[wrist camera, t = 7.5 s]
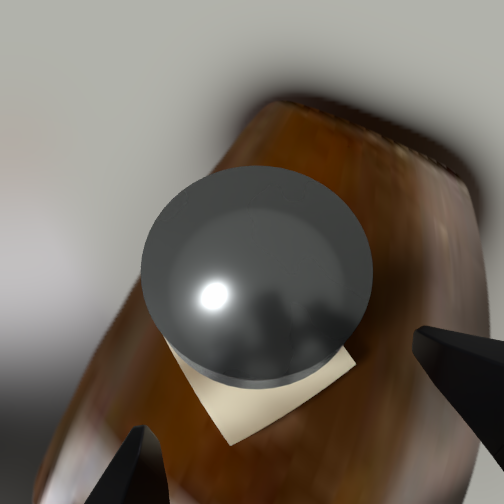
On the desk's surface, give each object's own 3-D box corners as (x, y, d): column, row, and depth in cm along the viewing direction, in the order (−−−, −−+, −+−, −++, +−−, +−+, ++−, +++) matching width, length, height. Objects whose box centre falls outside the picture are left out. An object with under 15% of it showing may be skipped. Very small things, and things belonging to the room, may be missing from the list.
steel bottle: (310, 339, 18) (413, 233, 6) (263, 401, 17) (288, 445, 4) (247, 296, 20) (236, 134, 7) (200, 354, 18) (88, 276, 6)
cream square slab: (347, 366, 19) (356, 364, 18) (232, 440, 17) (230, 445, 15) (274, 263, 23) (275, 252, 21) (163, 326, 21) (156, 320, 19)
